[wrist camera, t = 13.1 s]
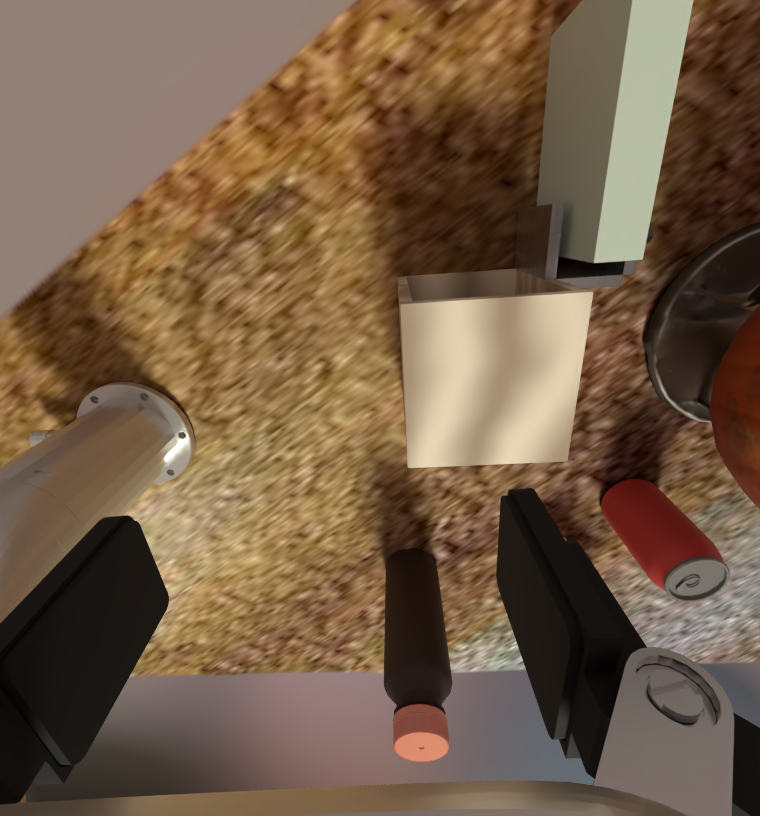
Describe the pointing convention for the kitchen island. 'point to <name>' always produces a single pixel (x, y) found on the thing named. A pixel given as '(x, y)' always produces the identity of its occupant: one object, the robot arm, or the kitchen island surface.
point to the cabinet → (490, 366)
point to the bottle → (416, 656)
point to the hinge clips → (542, 251)
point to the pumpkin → (715, 350)
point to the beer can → (665, 541)
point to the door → (609, 121)
